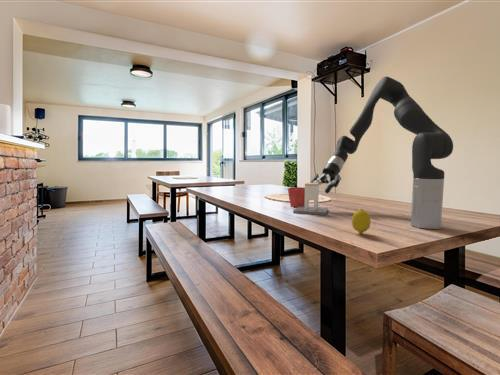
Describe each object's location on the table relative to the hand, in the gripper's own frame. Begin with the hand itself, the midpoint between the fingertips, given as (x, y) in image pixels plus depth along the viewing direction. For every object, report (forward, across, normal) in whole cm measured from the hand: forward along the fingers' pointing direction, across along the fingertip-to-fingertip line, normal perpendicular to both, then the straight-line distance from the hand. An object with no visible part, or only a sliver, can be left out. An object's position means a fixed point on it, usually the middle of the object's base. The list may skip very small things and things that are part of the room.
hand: (318, 191), depth 132 cm
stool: (+9, 0, +2) cm, 9 cm away
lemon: (+25, +36, -12) cm, 46 cm away
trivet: (+10, 0, +3) cm, 11 cm away
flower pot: (+5, -15, +8) cm, 18 cm away
